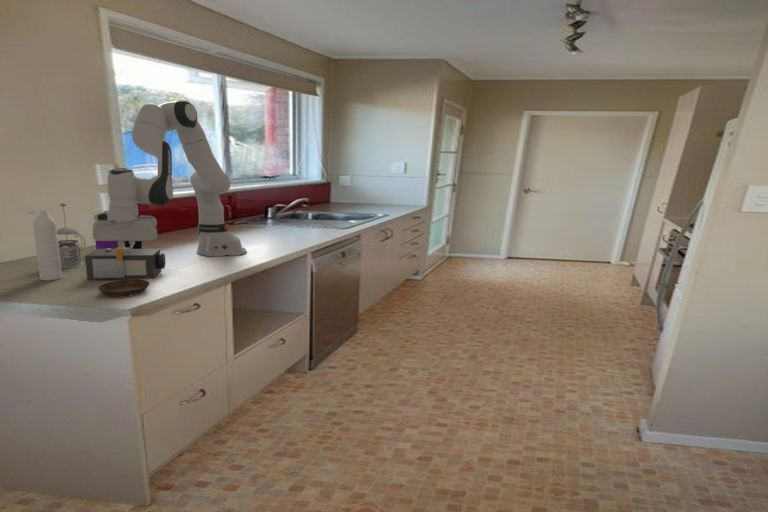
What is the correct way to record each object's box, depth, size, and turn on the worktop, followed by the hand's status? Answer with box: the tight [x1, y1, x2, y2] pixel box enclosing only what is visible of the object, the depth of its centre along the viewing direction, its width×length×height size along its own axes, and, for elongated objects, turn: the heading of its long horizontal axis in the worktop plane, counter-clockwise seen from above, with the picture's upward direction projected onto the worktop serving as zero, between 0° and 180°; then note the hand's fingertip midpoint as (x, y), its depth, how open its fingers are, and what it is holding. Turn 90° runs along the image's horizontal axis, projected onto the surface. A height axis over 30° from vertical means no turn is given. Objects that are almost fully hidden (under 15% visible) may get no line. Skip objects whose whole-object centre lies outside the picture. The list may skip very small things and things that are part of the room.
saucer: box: [97, 279, 150, 298], centre depth 148 cm, size 15×15×3 cm
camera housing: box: [84, 248, 166, 281], centre depth 167 cm, size 24×12×10 cm, turn 103°
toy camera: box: [94, 240, 126, 250], centre depth 201 cm, size 11×14×10 cm
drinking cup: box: [124, 241, 143, 249], centre depth 185 cm, size 8×8×20 cm
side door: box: [92, 248, 125, 278], centre depth 159 cm, size 10×2×11 cm, turn 104°
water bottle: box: [26, 208, 63, 282], centre depth 155 cm, size 9×6×25 cm
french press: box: [56, 202, 86, 269], centre depth 176 cm, size 10×12×25 cm
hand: (127, 252), depth 159 cm, fingers closed
